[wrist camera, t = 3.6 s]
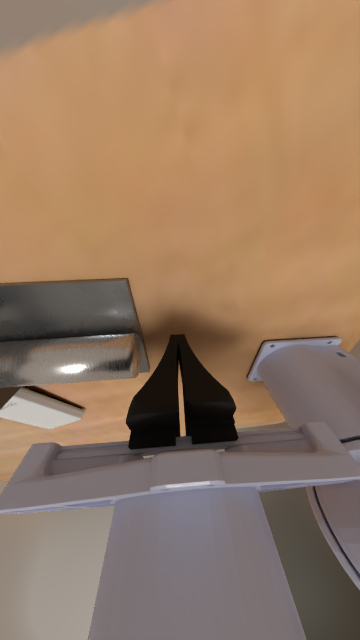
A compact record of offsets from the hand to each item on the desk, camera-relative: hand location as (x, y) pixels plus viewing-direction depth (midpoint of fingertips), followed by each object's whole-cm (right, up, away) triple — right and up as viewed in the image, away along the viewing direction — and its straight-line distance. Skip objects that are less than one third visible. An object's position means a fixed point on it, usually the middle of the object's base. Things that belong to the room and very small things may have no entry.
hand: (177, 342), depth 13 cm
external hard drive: (-23, -10, +7) cm, 26 cm away
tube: (-13, 0, 0) cm, 13 cm away
